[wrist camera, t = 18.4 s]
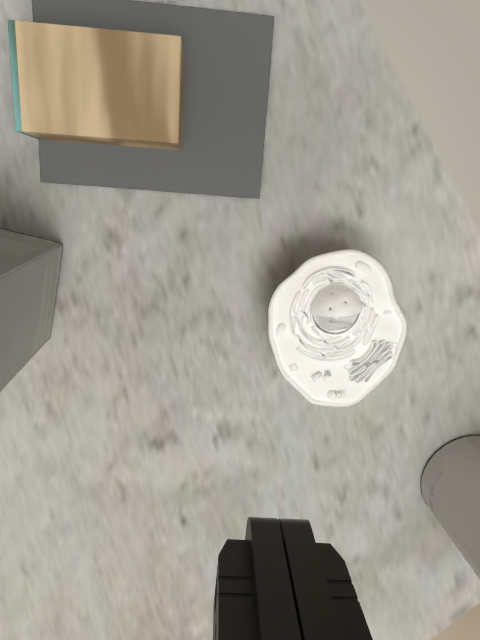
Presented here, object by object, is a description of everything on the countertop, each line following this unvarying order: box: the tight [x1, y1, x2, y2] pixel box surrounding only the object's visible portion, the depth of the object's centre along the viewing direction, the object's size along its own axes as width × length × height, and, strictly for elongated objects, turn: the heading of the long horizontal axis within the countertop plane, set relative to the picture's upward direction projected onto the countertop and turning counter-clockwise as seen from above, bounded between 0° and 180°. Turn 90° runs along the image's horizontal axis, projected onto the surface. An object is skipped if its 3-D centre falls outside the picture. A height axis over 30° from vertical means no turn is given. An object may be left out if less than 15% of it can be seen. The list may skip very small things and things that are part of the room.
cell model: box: [268, 249, 407, 407], centre depth 33 cm, size 10×12×7 cm
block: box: [8, 20, 185, 150], centre depth 28 cm, size 4×6×10 cm
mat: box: [32, 0, 274, 199], centre depth 31 cm, size 16×12×1 cm
